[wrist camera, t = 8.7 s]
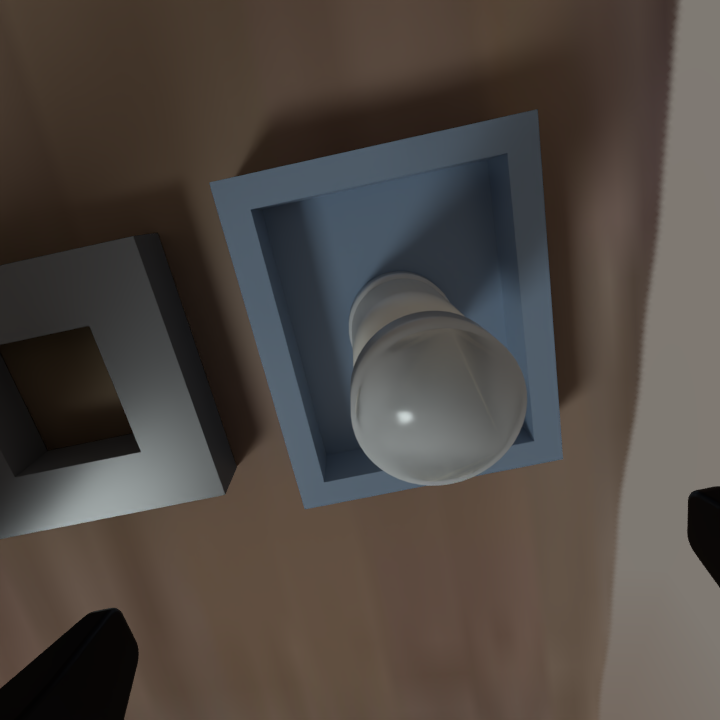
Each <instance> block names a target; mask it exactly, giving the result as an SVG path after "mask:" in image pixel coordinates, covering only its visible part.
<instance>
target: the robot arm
mask: <svg viewBox="0 0 720 720" xmlns="http://www.w3.org/2000/svg"><path fill="white" fill-rule="evenodd" d="M687 533H688V540H689V542H690V545H691V547H692V549H693V551H694V552H695V554H696V555H697V557H698V558H699V560H700V561H701V562H702V564H703V565H704V566H705V568H706V569H707V570H708V572H709V573H710V575H711V576H712V577H713V579H714V580H715V582H716V583H717V584H718V586H719V587H720V486H717V487H711V488H705V489H701V490H696V491H693V492H692V493H691V494H690V496H689V499H688V529H687ZM138 656H139V652H138V645H137V642H136V640H135V638H134V636H133V634H132V632H131V630H130V628H129V626H128V624H127V622H126V620H125V618H124V616H123V614H122V612H121V611H120V610H118V609H117V608H108V609H103V610H98V611H94V612H91V613H89V614H87V615H86V616H85V617H83V618H82V619H81V620H80V621H79V622H78V623H76V624H75V625H74V626H73V627H72V628H71V629H69V630H68V631H67V632H66V633H65V634H64V635H62V636H61V637H60V638H59V639H58V640H57V641H55V642H54V643H53V644H52V645H51V646H50V647H48V648H47V649H46V650H45V651H44V652H43V653H41V654H40V655H39V656H38V657H37V658H36V659H34V660H33V661H32V662H31V663H30V664H29V665H27V666H26V667H25V668H24V669H23V670H22V671H20V672H19V673H18V674H17V675H16V676H15V677H13V678H12V679H11V680H10V681H9V682H8V683H6V684H5V685H4V686H3V687H2V688H1V689H0V720H124V717H125V713H126V709H127V704H128V700H129V696H130V692H131V688H132V684H133V680H134V676H135V672H136V668H137V663H138Z"/></svg>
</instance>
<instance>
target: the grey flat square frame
mask: <svg viewBox="0 0 720 720" xmlns="http://www.w3.org/2000/svg"><path fill="white" fill-rule="evenodd" d="M86 326H90V329H91V331H92V334H93V336H94V339H95V341H96V343H97V346H98V348H99V351H100V353H101V356H102V358H103V360H104V363H105V365H106V368H107V370H108V373H109V375H110V377H111V380H112V382H113V385H114V387H115V390H116V392H117V394H118V397H119V399H120V402H121V404H122V407H123V409H124V411H125V414H126V416H127V419H128V421H129V424H130V426H131V428H132V431H133V434H128V435H123V436H118V437H113V438H108V439H104V440H99V441H94V442H89V443H84V444H79V445H74V446H69V447H64V448H59V449H54V450H50V451H47V449H46V447H45V445H44V443H43V441H42V439H41V436H40V434H39V432H38V430H37V428H36V426H35V424H34V422H33V420H32V418H31V416H30V414H29V412H28V410H27V408H26V406H25V404H24V402H23V399H22V397H21V395H20V393H19V391H18V389H17V387H16V385H15V383H14V381H13V379H12V377H11V375H10V373H9V371H8V369H7V367H6V364H5V362H4V360H3V358H2V356H1V354H0V539H3V538H8V537H13V536H18V535H23V534H28V533H33V532H38V531H43V530H48V529H54V528H59V527H64V526H69V525H74V524H79V523H84V522H89V521H94V520H99V519H104V518H109V517H114V516H120V515H125V514H130V513H135V512H140V511H145V510H150V509H155V508H160V507H165V506H170V505H175V504H180V503H186V502H191V501H196V500H201V499H206V498H211V497H216V496H221V495H225V494H226V492H227V489H228V487H229V484H230V482H231V480H232V477H233V475H234V472H235V470H236V468H237V466H236V463H235V460H234V457H233V455H232V452H231V449H230V446H229V443H228V440H227V437H226V434H225V431H224V428H223V425H222V422H221V419H220V416H219V413H218V410H217V407H216V404H215V401H214V398H213V395H212V392H211V390H210V387H209V384H208V381H207V378H206V375H205V372H204V369H203V366H202V363H201V360H200V357H199V354H198V351H197V348H196V345H195V342H194V339H193V336H192V333H191V330H190V327H189V324H188V322H187V319H186V316H185V313H184V310H183V307H182V304H181V301H180V298H179V295H178V292H177V289H176V286H175V283H174V280H173V277H172V274H171V271H170V268H169V265H168V262H167V259H166V257H165V254H164V251H163V248H162V245H161V242H160V239H159V236H158V233H153V234H145V235H138V236H131V237H127V238H122V239H118V240H113V241H109V242H104V243H100V244H95V245H91V246H86V247H81V248H77V249H72V250H68V251H63V252H59V253H54V254H50V255H45V256H41V257H36V258H32V259H27V260H22V261H18V262H13V263H9V264H4V265H0V345H1V344H6V343H11V342H15V341H20V340H25V339H29V338H34V337H39V336H43V335H48V334H53V333H57V332H62V331H67V330H72V329H76V328H81V327H86Z"/></svg>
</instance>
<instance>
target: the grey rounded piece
mask: <svg viewBox="0 0 720 720" xmlns="http://www.w3.org/2000/svg"><path fill="white" fill-rule="evenodd" d="M349 336H350V341H351V345H352V347H353V371H352V375H351V383H350V399H351V420H352V427H353V430H354V433H355V436H356V438H357V441H358V443H359V445H360V447H361V448H362V450H363V451H364V453H365V454H366V455H367V456H368V457H369V459H370V460H371V461H372V462H373V463H374V464H375V465H377V466H378V467H379V468H380V469H382V470H383V471H385V472H386V473H388V474H389V475H391V476H393V477H395V478H398V479H400V480H403V481H406V482H409V483H414V484H419V485H429V486H431V485H446V484H453V483H457V482H461V481H464V480H466V479H469V478H472V477H474V476H476V475H478V474H480V473H482V472H483V471H485V470H486V469H488V468H490V467H491V466H492V465H494V464H495V463H496V462H497V461H498V460H500V459H501V457H502V456H503V455H504V454H505V453H506V452H507V451H508V450H509V448H510V447H511V446H512V444H513V443H514V441H515V440H516V438H517V436H518V434H519V432H520V430H521V427H522V425H523V422H524V418H525V415H526V408H527V390H526V384H525V380H524V377H523V373H522V371H521V369H520V367H519V365H518V363H517V361H516V360H515V358H514V357H513V355H512V354H511V353H510V352H509V351H508V350H507V348H506V347H505V346H504V345H503V344H502V343H500V342H499V341H498V340H497V339H496V338H495V337H494V336H492V335H491V334H490V333H489V332H488V331H487V330H486V329H484V328H483V327H482V326H480V325H479V324H478V323H476V322H474V321H473V320H471V319H469V318H467V317H465V316H464V315H463V314H462V313H461V312H460V311H458V310H457V309H456V308H455V307H454V306H453V305H452V304H451V303H450V302H449V300H448V299H447V297H446V296H445V294H444V293H443V292H442V291H441V290H440V289H439V288H438V287H437V286H436V285H434V284H433V283H432V282H431V281H430V280H428V279H427V278H425V277H423V276H421V275H419V274H417V273H413V272H409V271H392V272H387V273H384V274H381V275H379V276H377V277H375V278H373V279H371V280H370V281H369V282H368V283H366V284H365V285H364V286H363V287H362V288H361V289H360V291H359V292H358V293H357V295H356V297H355V298H354V300H353V303H352V305H351V309H350V313H349Z"/></svg>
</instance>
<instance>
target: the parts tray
mask: <svg viewBox="0 0 720 720" xmlns="http://www.w3.org/2000/svg"><path fill="white" fill-rule="evenodd" d="M209 184H210V187H211V190H212V194H213V197H214V201H215V204H216V208H217V211H218V214H219V218H220V221H221V225H222V228H223V231H224V235H225V238H226V242H227V245H228V249H229V252H230V255H231V259H232V262H233V266H234V269H235V272H236V276H237V279H238V283H239V286H240V290H241V293H242V296H243V300H244V303H245V307H246V310H247V313H248V317H249V320H250V324H251V327H252V330H253V334H254V337H255V341H256V344H257V348H258V351H259V354H260V358H261V361H262V365H263V368H264V371H265V375H266V378H267V382H268V385H269V389H270V392H271V395H272V399H273V402H274V406H275V409H276V412H277V416H278V419H279V423H280V426H281V429H282V433H283V436H284V440H285V443H286V447H287V450H288V453H289V457H290V460H291V464H292V467H293V470H294V474H295V477H296V481H297V484H298V488H299V491H300V494H301V498H302V501H303V505H304V508H305V509H309V508H314V507H319V506H324V505H329V504H334V503H339V502H345V501H350V500H355V499H360V498H365V497H370V496H375V495H381V494H386V493H391V492H396V491H401V490H406V489H411V488H417V487H422V486H427V485H419V484H414V483H409V482H406V481H403V480H400V479H398V478H395V477H393V476H391V475H389V474H388V473H386V472H385V471H383V470H382V469H380V468H379V467H378V466H377V465H375V464H374V463H373V462H372V461H371V460H370V459H369V457H368V456H367V455H366V454H365V453H364V451H363V450H362V448H361V447H360V445H359V443H358V441H357V438H356V436H355V433H354V430H353V427H352V420H351V399H350V383H351V375H352V371H353V347H352V345H351V341H350V336H349V313H350V309H351V305H352V303H353V300H354V298H355V297H356V295H357V293H358V292H359V291H360V289H361V288H362V287H363V286H364V285H365V284H366V283H368V282H369V281H370V280H371V279H373V278H375V277H377V276H379V275H381V274H384V273H387V272H392V271H409V272H413V273H417V274H419V275H421V276H423V277H425V278H427V279H428V280H430V281H431V282H432V283H433V284H434V285H436V286H437V287H438V288H439V289H440V290H441V291H442V292H443V293H444V294H445V296H446V297H447V299H448V300H449V302H450V303H451V304H452V305H453V306H454V307H455V308H456V309H457V310H458V311H460V312H461V313H462V314H463V315H464V316H465V317H467V318H469V319H471V320H473V321H474V322H476V323H478V324H479V325H480V326H482V327H483V328H484V329H486V330H487V331H488V332H489V333H490V334H491V335H492V336H494V337H495V338H496V339H497V340H498V341H499V342H500V343H502V344H503V345H504V346H505V347H506V348H507V350H508V351H509V352H510V353H511V354H512V355H513V357H514V358H515V360H516V361H517V363H518V365H519V367H520V369H521V371H522V373H523V377H524V380H525V384H526V390H527V408H526V415H525V418H524V422H523V425H522V427H521V430H520V432H519V434H518V436H517V438H516V440H515V441H514V443H513V444H512V446H511V447H510V448H509V450H508V451H507V452H506V453H505V454H504V455H503V456H502V457H501V459H500V460H498V461H497V462H496V463H495V464H494V465H492V466H491V467H490V468H488V469H486V470H485V471H483V472H482V473H480V474H478V475H483V474H489V473H494V472H499V471H504V470H509V469H514V468H519V467H525V466H530V465H535V464H540V463H545V462H550V461H555V460H561V459H563V454H562V440H561V426H560V413H559V399H558V385H557V371H556V357H555V343H554V329H553V316H552V302H551V288H550V274H549V260H548V246H547V232H546V218H545V205H544V191H543V177H542V163H541V149H540V135H539V121H538V109H536V110H532V111H527V112H523V113H518V114H514V115H509V116H505V117H501V118H496V119H492V120H487V121H483V122H478V123H474V124H469V125H465V126H460V127H456V128H451V129H447V130H442V131H438V132H433V133H429V134H424V135H420V136H415V137H411V138H407V139H402V140H398V141H393V142H389V143H384V144H380V145H375V146H371V147H366V148H362V149H357V150H353V151H348V152H344V153H339V154H335V155H330V156H326V157H321V158H317V159H313V160H308V161H304V162H299V163H295V164H290V165H286V166H281V167H277V168H272V169H268V170H263V171H259V172H254V173H250V174H245V175H241V176H236V177H232V178H228V179H223V180H219V181H214V182H210V183H209ZM478 475H476V476H478Z"/></svg>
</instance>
